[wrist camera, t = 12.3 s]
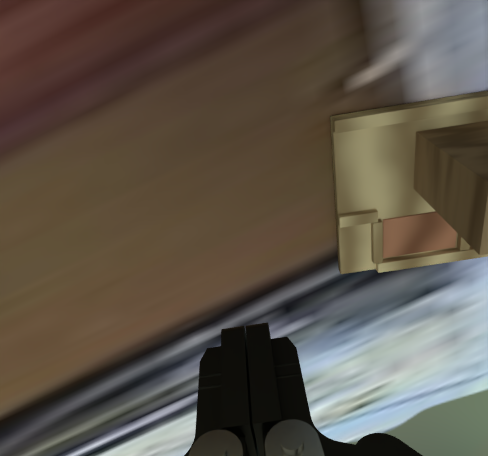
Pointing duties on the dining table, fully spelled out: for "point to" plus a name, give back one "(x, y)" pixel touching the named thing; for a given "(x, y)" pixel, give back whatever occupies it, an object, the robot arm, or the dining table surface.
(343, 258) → the tray
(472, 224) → the walnut block
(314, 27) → the dining table surface
